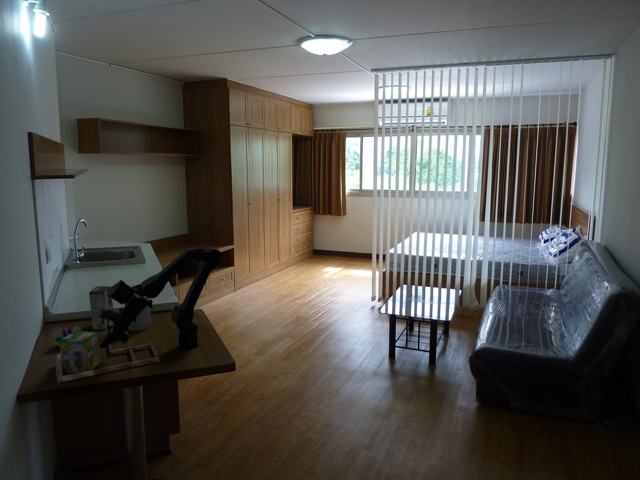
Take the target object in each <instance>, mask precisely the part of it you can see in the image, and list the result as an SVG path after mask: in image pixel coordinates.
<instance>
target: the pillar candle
mask: <svg viewBox="0 0 640 480" xmlns="http://www.w3.org/2000/svg"><path fill="white" fill-rule="evenodd" d="M134 294H135V293H134ZM135 295H136V296H138V295H137V294H135ZM138 297H139V296H138ZM143 297H144V298H146V299H147V300H150V298H147V297H146V296H143ZM126 305H127V304H124V307H125V306H126ZM151 318H152V316H151V308H149V307H148V306H147V307H146V308H145V309H144V310H143V311H142V312H141V314H140V315H139V316H138V317H137V321H136V322H133V323H132V324H131V325H130V327H129V330H128V332H141V331H144V330H147V329H149V328H151V327H152V319H151Z"/></svg>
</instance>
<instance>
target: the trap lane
mask: <svg viewBox="0 0 640 480" xmlns="http://www.w3.org/2000/svg"><path fill="white" fill-rule="evenodd" d="M100 344H101V342H99V348H100ZM107 347H108V351H109V352H110V353H109V356H110V357H112V356H111V355H113V356H117V355H116V354H118V355H123V354H128V353H129V356H130V359H131V362H126V363H121V364H116V365H111V366H106V367H102V368H101V367H99V368H96V369H95V368H94V369H93V370H90V371H85V372H80V373H69V374H65V375H64V374H63V369H62V361H61V354H60V353H56V366H55V367H56V368H55V372H56V373H55V375H56V380H57V383H62V382H66V381H72V380H76V379H80V378H86V377H90V376H91V377H92V376H95V375H100V374H105V373H110V372H111V373H112V372H115V370H116V371H120V369H121V370H125V369H124V368H126V369H129V368H128V367H131V368H135V367H134V366H136V367H139V365H140V366H144V364H145V365H149V363H150V364H154V363H159V362H160V361H161V360H160V356H159V354H158V352H157V350H156V348H155V345H154V343H153V342H150V343H146V344H140V345H136V346H135V345H134V346H130V347H123V348H120V349H119V348H118V349H114V350H113V347H112V344H110V345H108V346H107ZM149 349H150V350H151V352H152V354H153V357H150V358H146V359H145V358H144V359H141V360H136V356H135V353H134V352H138V351H144V350H149ZM122 353H123V354H122Z"/></svg>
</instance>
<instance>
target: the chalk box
mask: <svg viewBox="0 0 640 480" xmlns="http://www.w3.org/2000/svg"><path fill="white" fill-rule="evenodd" d="M73 327H74V328H72V329H71V331H72V333H70V334H69V335H67V336H66V337H64V338H63V339H62V340H60V341H59V352H60V353H59V354H61V361H62V369H63V375H64V374H65V375H69V374H75V373H80V372H85V371H90V370H95V368H96V367H97V366H99V364H101V362H102V361H101V350H100V347H99V343H100V341H99V340H100V339H99V333H98V331H82V330H81V327H80V325H79V324H77V325H75V326H73ZM75 330H78V332H75Z"/></svg>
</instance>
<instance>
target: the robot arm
mask: <svg viewBox="0 0 640 480" xmlns="http://www.w3.org/2000/svg"><path fill="white" fill-rule="evenodd" d="M222 259H223V254H222V252H221V251H220V250H219V249H217V248H215V247H212V246H207V247H204V248H189V247H188V248H186V249H184V250H183V251H182V253H180V254H179V255H178V256H176V257H175V259H173V260H172V261H171V262H169V264H168V265H166V266H165V267H164V268H162V269H161V270H160V271H159V272H158V273H156V274H153V275H152V276H151V275H150V276H149V277H147V278H146V279H144V280H143V281H142V282H141V283H139V284H136V285H132V286H130V285H128V284H127V283H126V282H125V281H124V280H123V279H120V280H118V282H116V283H114V285H112V286H111V288H110V290H109V292H108V294H107V296H109V297H110V298H112V301H114V302H115V301H116V303H118V304H120V305H124V307H120V308H119V309H115V308H113V309H112V308H108V307H104V306H102V308H101V310H100V313H99V318H100V319H106V320H108V321H109V320H110V321H111V323H110V324H107V329H106V333H105V335H104V337H103V338H102V340H101V342H100V343H101V344H100V347H99V349H100V348H101V349H104V348H106V347H108V345H110V344H111V345H112V344H114V343H116V342H119V341H120V342H121V343H123V344H127V342H128V341H129V340H130V337H129V336H130V335H129V327H130V325H131V324H132V323H133V322H136V321H137V317H138V316H139V315H140V314H141V312H142V311H143V310H144V309H145V308H146V307H147V306H148V307H149V308H150V310H153V309H154V306H153V299H155V298H157V297H159V295H161V293H162V292H163V291H164V289H165V287H167V286H166V285H167V284H168V283H169V281H171V280H172V279H173V278H174V277H175V276H176V275H178V274H179V273H180V272H181V271H182V270H183V269H184V268H186V267H187V266H189V264H190V263H191V262H192V261H197V262H198V261H199V262H198V269H197V271H196V273H195V276H194V277H193V279H192V283H191V284H190V286H189V288H188V290H187V293H186V294H185V297H184V299H183V301H182V302H181V304H179V305H177V304H175V305H174V307H173V310H172V312H171V313H170V317H171V318H170V321H171V322H172V323H173V325H174V326H175V327H176V328H177V329H178V330H177V332H178V334H176V337H177V346H178V347H179V348H180V350H188V349H193V348H198V347H199V345H200V344H199V343H198V331H199V326H198V325H197V324H196V323H195V322H194V321H193V319H194V317H195V316H194V315H195V307H196V305H197V302H198V300H199V298H200V296H201V293H202V292H203V289H204V287H205V285H206V283H207V281H208V279H209V277H210V274H211V273H212V272H213V271H214V270H215V269H216V268H217V267H218V266H219V264H220V262H221V261H222ZM134 293H135V294H137V295H138V296H139V297H138V296H136V295H135V294H134ZM143 296H146V297H147V298H149V300H147V299H146V298H144V297H143ZM125 304H127V305H126V306H125Z"/></svg>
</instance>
